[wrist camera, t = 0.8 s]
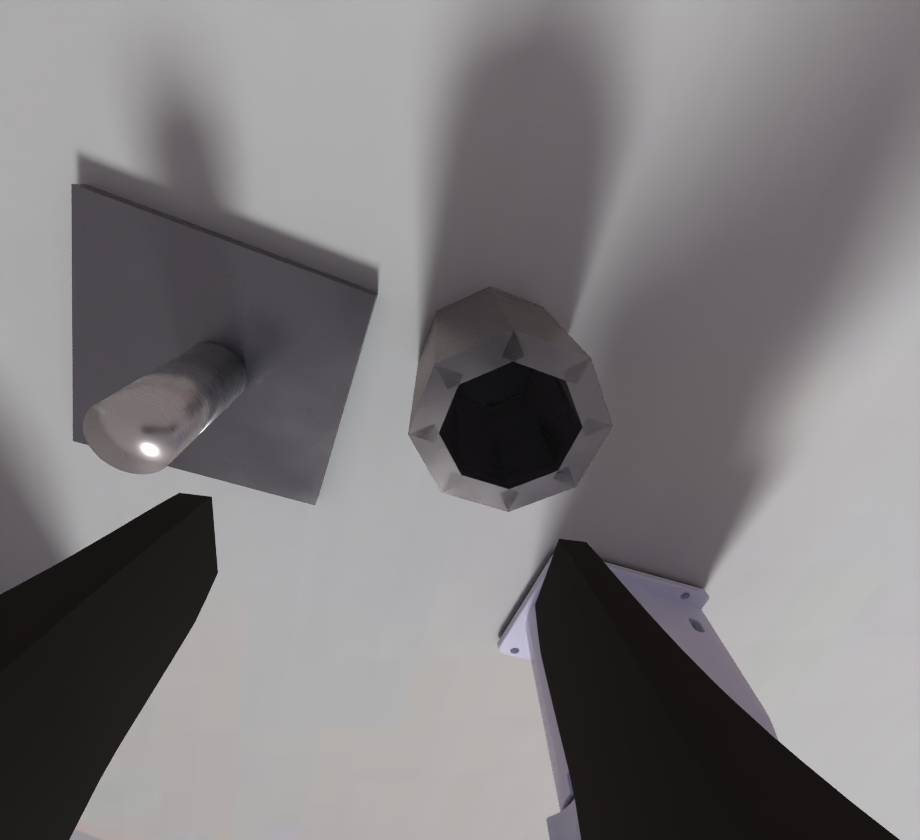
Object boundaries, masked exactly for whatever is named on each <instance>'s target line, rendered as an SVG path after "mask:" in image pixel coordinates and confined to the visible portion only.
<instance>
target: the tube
mask: <svg viewBox="0 0 920 840" xmlns="http://www.w3.org/2000/svg"><path fill="white" fill-rule="evenodd" d="M511 362H516V363H519V364H521V365H524V366H527V367H530V368H532V369H535V370H534V372H533V375H532V377H531V379H530V381H529V383H528V385H527V387H526V389H525V391H524V392H523V393H521V394H518V395H516V396H513V397H511V398H509V399H506V400H504V401H501V402H499V403H497V404H494V405H492V406H487V405H484V404H481V403H478V402H475V401H472V400H469V399H466V398H463V397H460V396H457V395H455V392H456V390H457V387H458V385H459V384H462V383H464V382H466V381H469V380H471V379H473V378H476V377H478V376H480V375H483V374H485V373H487V372H490V371H492V370H494V369H497V368H499V367H501V366H504V365H506V364H508V363H511ZM611 428H612V423H611V419H610V416H609V413H608V410H607V407H606V404H605V401H604V398H603V395H602V391H601V388H600V385H599V382H598V379H597V376H596V373H595V370H594V367H593V363H592V360H591V358H590V357H589V356H588V355H587V354H586V352H585V351H584V350H583V349H582V348H581V347H580V346H579V345H578V344H577V343H576V342H575V341H574V340H573V339H572V338H571V337H570V335H569V334H568V333H567V332H566V331H565V330H564V329H563V328H562V327H561V326H560V325H559V324H558V323H557V322H556V321H555V320H554V318H553V317H552V316H551V315H550V314H549V313H548V312H547V311H546V310H545V309H544V308H543V307H540V306H538V305H535V304H532V303H530V302H527V301H525V300H522V299H520V298H517V297H515V296H512V295H510V294H507V293H505V292H502V291H499V290H497V289H494V288H492V287H489V288H487V289H485V290H482V291H480V292H478V293H476V294H474V295H472V296H469V297H467V298H465V299H463V300H461V301H459V302H456V303H454V304H452V305H450V306H448V307H446V308H443V309H441V310H439V311H437V312H436V315H435V318H434V320H433V323H432V326H431V329H430V332H429V334H428V337H427V340H426V343H425V346H424V348H423V351H422V354H421V357H420V360H419V362H418V368H417V375H416V382H415V389H414V396H413V404H412V411H411V418H410V425H409V432H408V435H409V437H410V438H411V440H412V442H413V444H414V445H415V447H416V449H417V451H418V452H419V454H420V456H421V457H422V459H423V461H424V463H425V464H426V466H427V468H428V470H429V471H430V473H431V475H432V477H433V478H434V480H435V482H436V484H437V485H438V487H439V489H440V490H441V492H442V493H445V494H448V495H452V496H455V497H459V498H462V499H466V500H469V501H473V502H476V503H479V504H483V505H486V506H490V507H493V508H497V509H500V510H504V511H507V512H509V511H512V510H515V509H517V508H520V507H523V506H525V505H528V504H531V503H534V502H536V501H539V500H542V499H544V498H547V497H550V496H552V495H555V494H558V493H560V492H563V491H566V490H568V489H571V488H574V487H576V486H577V484H578V483H579V481H580V479H581V478H582V476H583V474H584V473H585V471H586V469H587V468H588V466H589V464H590V463H591V461H592V459H593V458H594V456H595V454H596V453H597V451H598V449H599V448H600V446H601V444H602V443H603V441H604V439H605V438H606V436H607V434H608V433H609V431H610V429H611Z"/></svg>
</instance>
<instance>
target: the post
mask: <svg viewBox="0 0 920 840" xmlns="http://www.w3.org/2000/svg"><path fill="white" fill-rule="evenodd" d="M377 294H378V293H376V292H374V291H371V290H368V289H366V288H363V287H360V286H357V285H355V284H352V283H349V282H347V281H344V280H341V279H339V278H336V277H333V276H331V275H328V274H325V273H322V272H320V271H317V270H314V269H312V268H309V267H306V266H304V265H301V264H298V263H295V262H293V261H290V260H287V259H285V258H282V257H279V256H277V255H274V254H271V253H269V252H266V251H263V250H260V249H258V248H255V247H252V246H250V245H247V244H244V243H242V242H239V241H236V240H233V239H231V238H228V237H225V236H223V235H220V234H217V233H215V232H212V231H209V230H207V229H204V228H201V227H198V226H196V225H193V224H190V223H188V222H185V221H182V220H180V219H177V218H174V217H171V216H169V215H166V214H163V213H161V212H158V211H155V210H153V209H150V208H147V207H145V206H142V205H139V204H136V203H134V202H131V201H128V200H126V199H123V198H120V197H118V196H115V195H112V194H109V193H107V192H104V191H101V190H99V189H96V188H93V187H91V186H88V185H85V184H72V336H73V441H75V442H79V443H83V444H87V445H89V446H90V447H91V449H92V450H93V451H94V452H95V454H96V455H98V456H99V457H100V458H101V459H102V460H103V461H105V462H106V463H108V464H109V465H111V466H113V467H115V468H117V469H119V470H122V471H125V472H129V473H133V474H151V473H155V472H158V471H160V470H162V469H164V468H165V467H166V466H169V467H173V468H177V469H181V470H185V471H188V472H192V473H196V474H200V475H203V476H207V477H211V478H215V479H218V480H222V481H226V482H230V483H233V484H237V485H241V486H245V487H248V488H252V489H256V490H260V491H263V492H267V493H271V494H275V495H279V496H282V497H286V498H290V499H294V500H297V501H301V502H305V503H309V504H312V505H315V503H316V501H317V498H318V496H319V492H320V489H321V485H322V482H323V478H324V475H325V472H326V468H327V465H328V461H329V458H330V455H331V451H332V448H333V444H334V441H335V438H336V434H337V431H338V427H339V424H340V420H341V417H342V414H343V410H344V407H345V403H346V400H347V397H348V393H349V390H350V386H351V383H352V380H353V376H354V373H355V369H356V366H357V362H358V359H359V356H360V352H361V349H362V345H363V342H364V339H365V335H366V332H367V328H368V325H369V321H370V318H371V315H372V311H373V308H374V304H375V301H376V298H377Z"/></svg>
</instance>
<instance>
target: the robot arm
mask: <svg viewBox="0 0 920 840" xmlns="http://www.w3.org/2000/svg"><path fill="white" fill-rule="evenodd" d="M217 573H218V570H217V557H216V545H215V532H214V520H213V508H212V497H208V496H200V495H192V494H184V493H178V494H177V495H175V496H173V497H171V498H169V499H168V500H166V501H164V502H162V503H161V504H159V505H157V506H155V507H154V508H152V509H150V510H149V511H147V512H145V513H144V514H142V515H140V516H139V517H137V518H135V519H133V520H132V521H130V522H128V523H127V524H125V525H123V526H122V527H120V528H118V529H117V530H115V531H113V532H112V533H110V534H108V535H106V536H105V537H103V538H101V539H100V540H98V541H96V542H94V543H93V544H91V545H89V546H88V547H86V548H84V549H82V550H81V551H79V552H77V553H75V554H74V555H72V556H70V557H69V558H67V559H65V560H63V561H62V562H60V563H58V564H56V565H55V566H53V567H51V568H49V569H47V570H45V571H43V572H42V573H40V574H38V575H36V576H34V577H32V578H30V579H29V580H27V581H25V582H23V583H21V584H19V585H17V586H16V587H14V588H12V589H10V590H8V591H6V592H4V593H3V594H1V595H0V840H69V839H70V837H71V835H72V833H73V831H74V829H75V827H76V825H77V823H78V821H79V819H80V817H81V815H82V813H83V812H84V810H85V808H86V806H87V804H88V802H89V800H90V798H91V796H92V794H93V792H94V790H95V788H96V786H97V784H98V782H99V780H100V778H101V777H102V775H103V773H104V771H105V770H106V768H107V766H108V764H109V763H110V761H111V759H112V757H113V756H114V754H115V752H116V750H117V749H118V747H119V745H120V744H121V742H122V740H123V739H124V737H125V736H126V734H127V732H128V731H129V729H130V727H131V726H132V724H133V723H134V721H135V719H136V718H137V716H138V714H139V713H140V711H141V710H142V708H143V706H144V705H145V703H146V701H147V700H148V698H149V697H150V695H151V693H152V692H153V690H154V688H155V687H156V685H157V684H158V682H159V680H160V679H161V677H162V676H163V674H164V672H165V671H166V669H167V667H168V666H169V664H170V663H171V661H172V659H173V658H174V656H175V654H176V653H177V651H178V649H179V648H180V646H181V644H182V643H183V641H184V639H185V638H186V636H187V635H188V633H189V631H190V629H191V628H192V626H193V624H194V623H195V621H196V619H197V617H198V615H199V612H200V610H201V608H202V606H203V604H204V602H205V600H206V598H207V596H208V593H209V591H210V589H211V587H212V584H213V582H214V580H215V578H216V575H217ZM708 600H709V596H708V594H707V593H706V591H705V590H704V589H701V588H697V587H694V586H690V585H686V584H683V583H679V582H676V581H672V580H668V579H665V578H661V577H658V576H654V575H650V574H647V573H643V572H639V571H636V570H632V569H629V568H625V567H621V566H618V565H614V564H611V563H607V562H603V560H602V559H601V558H600V557H599V556H598V555H597V554H596V553H595V551H594V550H593V549H592V548H591V547H590V546H589V545H588V544H587V543H586V542H580V541H572V540H563V539H559V541H558V544H557V546H556V549H555V552H554V554H553V555H552V556H551V558H550V559H549V561H548V563H547V564H546V566H545V567H544V569H543V571H542V572H541V574H540V575H539V577H538V579H537V580H536V582H535V583H534V585H533V587H532V588H531V590H530V592H529V593H528V595H527V596H526V598H525V600H524V601H523V603H522V604H521V606H520V608H519V609H518V611H517V612H516V614H515V616H514V617H513V619H512V620H511V622H510V624H509V625H508V627H507V628H506V630H505V632H504V633H503V635H502V636H501V638H500V640H499V641H498V650H499V652H501V653H503V654H507V655H511V656H516V657H521V658H525V659H530V660H531V663H532V668H533V673H534V678H535V684H536V689H537V694H538V699H539V704H540V709H541V714H542V719H543V725H544V730H545V735H546V740H547V745H548V750H549V755H550V760H551V766H552V771H553V776H554V781H555V786H556V791H557V796H558V801H559V807H560V812H559V813H557V814H555V815H553V816H550V817H548V818H547V826H548V832H549V838H550V840H899V839H898V838H897V837H895V836H894V835H893V834H891V833H890V832H889V831H888V830H886V829H885V828H884V827H882V826H881V825H880V824H879V823H877V822H876V821H875V820H874V819H872V818H871V817H870V816H868V815H867V814H866V813H865V812H863V811H862V810H861V809H859V808H858V807H857V806H856V805H854V804H853V803H852V802H851V801H849V800H848V799H847V798H846V797H845V796H843V795H842V794H841V793H840V792H839V791H837V790H836V789H835V788H834V787H832V786H831V785H830V784H829V783H828V782H826V781H825V780H824V779H823V778H822V777H820V776H819V775H818V774H817V773H815V772H814V771H813V770H812V769H811V768H809V767H808V766H807V765H806V764H805V763H803V762H802V761H801V760H800V759H799V758H797V757H796V756H795V755H794V754H793V753H792V752H790V751H789V750H788V749H787V748H786V747H785V746H784V745H782V744H781V743H780V742H779V741H778V739H777V736H776V733H775V730H774V728H773V725H772V723H771V721H770V718H769V716H768V715H767V713H766V711H765V709H764V708H763V706H762V704H761V703H760V701H759V700H758V698H757V696H756V695H755V693H754V692H753V690H752V689H751V687H750V685H749V684H748V682H747V681H746V679H745V678H744V676H743V674H742V673H741V671H740V670H739V668H738V667H737V665H736V663H735V662H734V660H733V659H732V657H731V655H730V654H729V652H728V651H727V649H726V648H725V646H724V644H723V643H722V641H721V640H720V638H719V637H718V635H717V633H716V632H715V630H714V629H713V627H712V626H711V624H710V622H709V621H708V619H707V618H706V616H705V615H704V613H703V611H702V610H701V609H702V607H703V606H704V605H705V604H706V603H707V602H708Z"/></svg>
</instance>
